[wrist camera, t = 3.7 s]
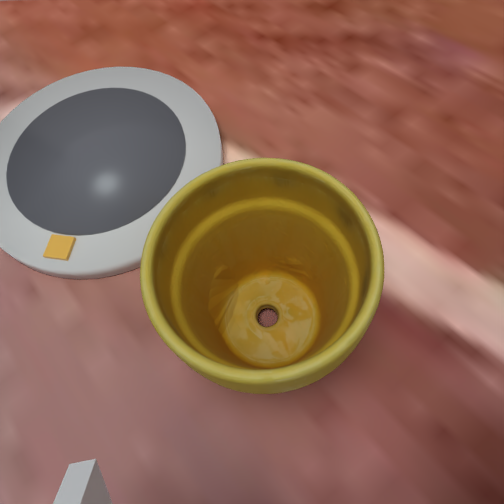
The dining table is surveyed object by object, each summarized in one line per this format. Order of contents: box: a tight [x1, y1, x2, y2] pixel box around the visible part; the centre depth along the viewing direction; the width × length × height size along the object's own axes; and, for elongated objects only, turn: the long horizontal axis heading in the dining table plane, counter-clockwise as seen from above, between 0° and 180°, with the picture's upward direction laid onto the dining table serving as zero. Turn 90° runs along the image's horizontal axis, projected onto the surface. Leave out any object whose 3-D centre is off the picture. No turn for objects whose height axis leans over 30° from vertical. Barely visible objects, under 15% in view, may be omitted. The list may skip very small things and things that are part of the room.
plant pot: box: [140, 158, 384, 394], centre depth 22 cm, size 10×10×10 cm
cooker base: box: [0, 67, 223, 279], centre depth 32 cm, size 18×18×2 cm
